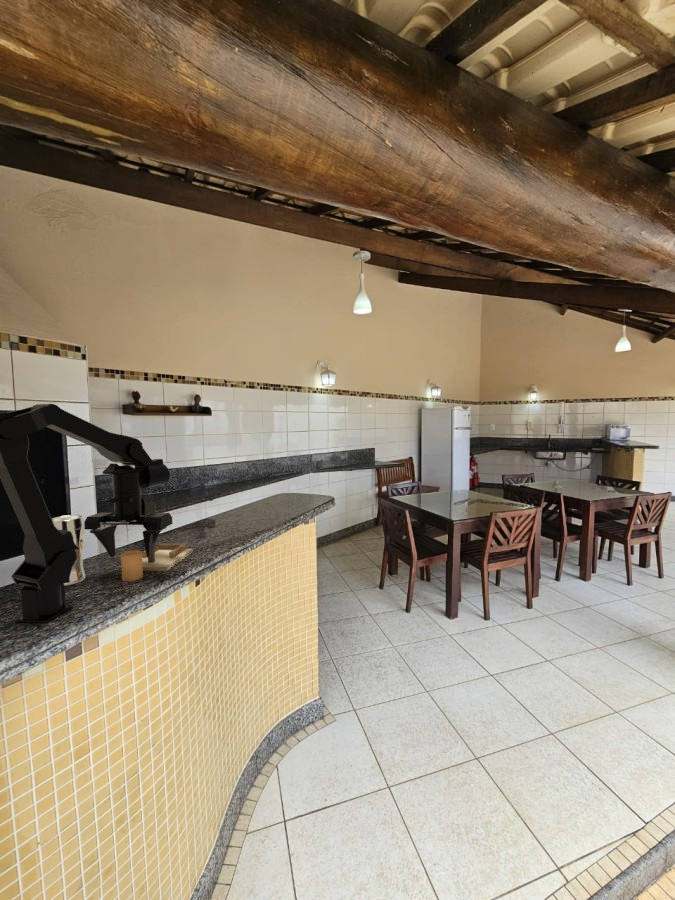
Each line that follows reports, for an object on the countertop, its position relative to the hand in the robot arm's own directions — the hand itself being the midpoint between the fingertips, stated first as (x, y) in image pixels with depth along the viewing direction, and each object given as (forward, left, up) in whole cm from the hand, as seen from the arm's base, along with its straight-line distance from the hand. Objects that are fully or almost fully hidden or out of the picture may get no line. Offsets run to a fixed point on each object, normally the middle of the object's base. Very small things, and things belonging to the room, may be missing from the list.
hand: (131, 556), depth 94 cm
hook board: (+12, 0, -5) cm, 13 cm away
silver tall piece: (-2, +14, -5) cm, 15 cm away
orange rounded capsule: (0, 0, -5) cm, 5 cm away
